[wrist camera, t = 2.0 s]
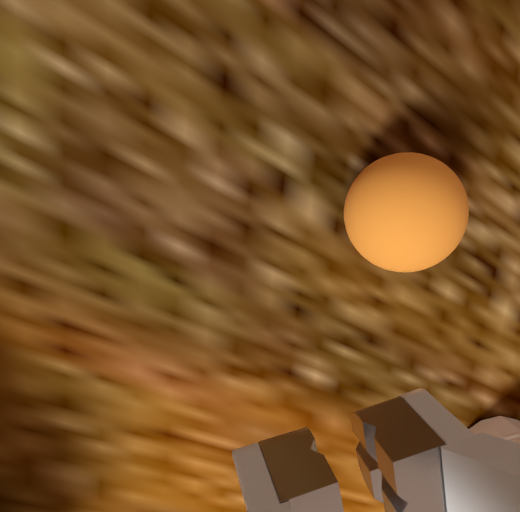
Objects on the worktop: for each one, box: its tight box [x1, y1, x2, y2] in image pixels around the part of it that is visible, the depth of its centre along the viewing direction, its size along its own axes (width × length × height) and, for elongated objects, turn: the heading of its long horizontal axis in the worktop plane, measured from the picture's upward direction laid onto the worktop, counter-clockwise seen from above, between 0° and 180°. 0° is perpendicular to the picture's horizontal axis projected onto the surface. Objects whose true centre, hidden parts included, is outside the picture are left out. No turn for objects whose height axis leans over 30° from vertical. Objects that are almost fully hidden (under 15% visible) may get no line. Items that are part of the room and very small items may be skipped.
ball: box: [344, 152, 469, 272], centre depth 24 cm, size 6×6×6 cm
